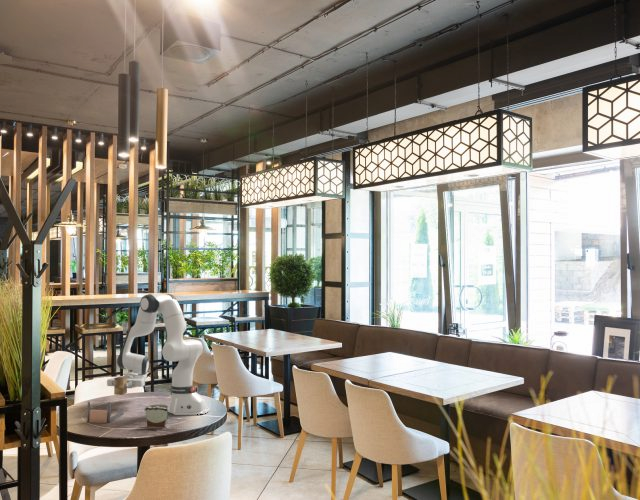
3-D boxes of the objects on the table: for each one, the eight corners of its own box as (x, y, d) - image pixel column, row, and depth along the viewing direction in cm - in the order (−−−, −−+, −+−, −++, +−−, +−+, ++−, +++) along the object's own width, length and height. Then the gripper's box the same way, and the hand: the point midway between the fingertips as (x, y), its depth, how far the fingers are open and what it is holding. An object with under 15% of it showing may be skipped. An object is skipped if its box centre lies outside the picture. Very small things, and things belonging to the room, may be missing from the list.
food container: (172, 424, 279) (172, 404, 280) (167, 428, 273) (168, 407, 274) (148, 423, 281) (149, 403, 281) (143, 426, 274) (144, 406, 275)
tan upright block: (126, 392, 309) (127, 376, 309) (123, 394, 304) (123, 378, 304) (118, 392, 309) (118, 376, 309) (114, 394, 304) (114, 378, 304)
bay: (123, 414, 298) (124, 395, 298) (109, 423, 280) (109, 403, 281) (102, 413, 299) (103, 394, 299) (86, 422, 281) (87, 402, 282)
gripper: (113, 374, 320) (101, 378, 307) (147, 374, 319) (137, 379, 305) (112, 385, 320) (101, 390, 306) (147, 386, 319) (137, 390, 305)
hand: (120, 384), depth 306 cm, fingers closed on tan upright block, 5 cm apart
